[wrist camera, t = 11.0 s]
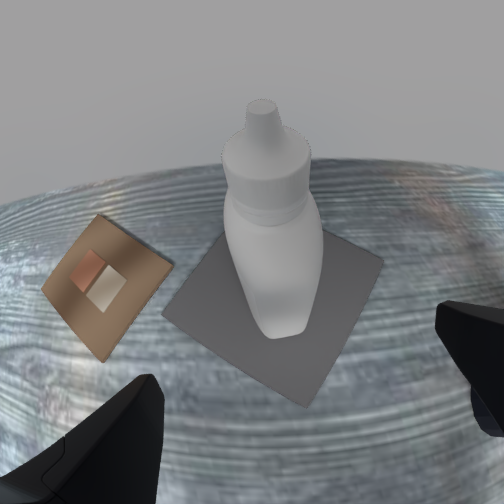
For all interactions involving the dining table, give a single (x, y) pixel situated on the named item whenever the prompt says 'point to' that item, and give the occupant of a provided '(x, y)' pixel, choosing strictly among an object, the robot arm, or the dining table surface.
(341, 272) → the mat
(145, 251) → the board
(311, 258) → the eye dropper bottle
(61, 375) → the dining table surface
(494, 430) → the humidifier
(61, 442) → the robot arm
